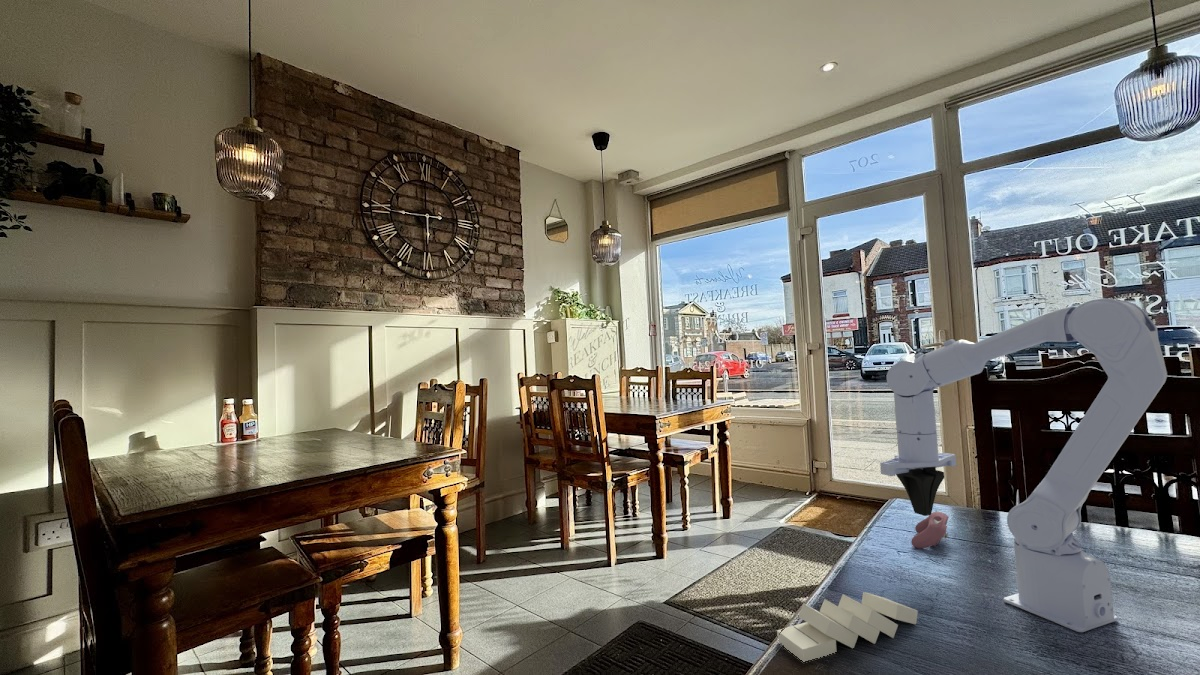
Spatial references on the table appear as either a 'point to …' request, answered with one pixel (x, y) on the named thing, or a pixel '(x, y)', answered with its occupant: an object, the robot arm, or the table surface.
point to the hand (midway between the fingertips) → (922, 513)
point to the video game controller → (930, 530)
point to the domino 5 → (889, 608)
